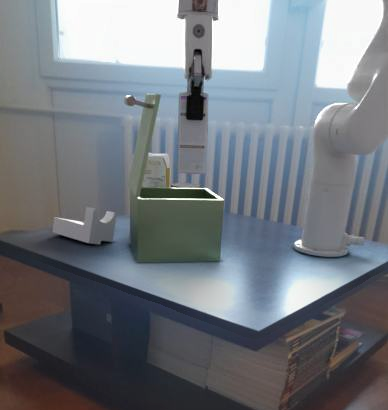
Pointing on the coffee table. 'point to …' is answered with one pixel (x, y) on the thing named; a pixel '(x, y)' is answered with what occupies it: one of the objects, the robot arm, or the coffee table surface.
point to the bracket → (88, 227)
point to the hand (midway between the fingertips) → (193, 118)
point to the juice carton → (157, 171)
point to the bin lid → (142, 138)
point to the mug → (185, 185)
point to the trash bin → (176, 225)
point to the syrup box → (192, 139)
